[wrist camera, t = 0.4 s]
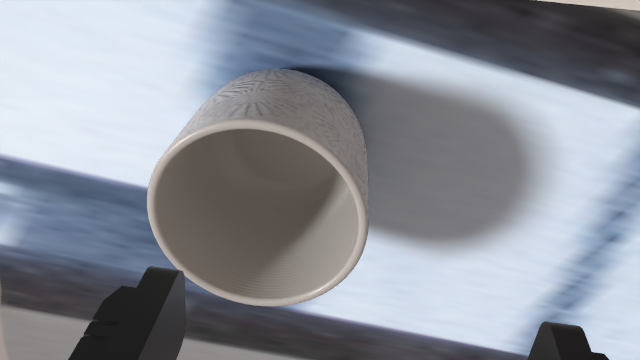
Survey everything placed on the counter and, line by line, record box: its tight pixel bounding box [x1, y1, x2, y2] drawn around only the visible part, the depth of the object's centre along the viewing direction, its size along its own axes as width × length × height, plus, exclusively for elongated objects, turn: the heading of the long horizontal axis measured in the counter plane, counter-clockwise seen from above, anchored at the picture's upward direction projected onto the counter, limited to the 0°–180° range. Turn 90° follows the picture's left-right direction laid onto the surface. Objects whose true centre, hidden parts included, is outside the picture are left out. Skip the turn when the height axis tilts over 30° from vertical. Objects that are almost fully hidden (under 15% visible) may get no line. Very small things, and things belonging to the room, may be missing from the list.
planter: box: [147, 69, 368, 306], centre depth 38 cm, size 12×12×11 cm
